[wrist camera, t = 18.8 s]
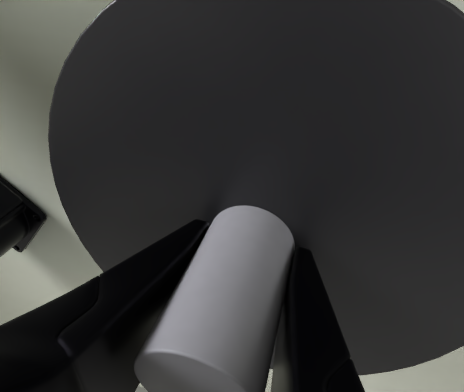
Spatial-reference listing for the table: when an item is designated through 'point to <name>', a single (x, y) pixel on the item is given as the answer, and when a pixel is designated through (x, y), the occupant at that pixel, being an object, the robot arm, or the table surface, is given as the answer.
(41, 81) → the table surface
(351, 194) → the lid
